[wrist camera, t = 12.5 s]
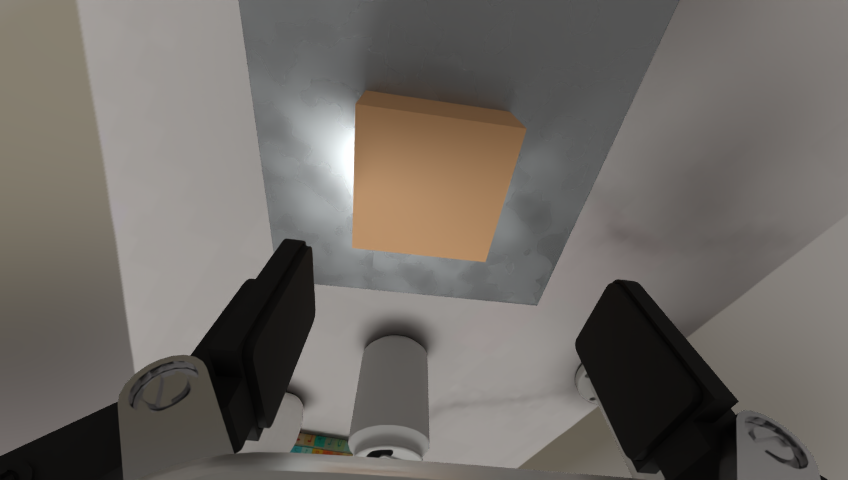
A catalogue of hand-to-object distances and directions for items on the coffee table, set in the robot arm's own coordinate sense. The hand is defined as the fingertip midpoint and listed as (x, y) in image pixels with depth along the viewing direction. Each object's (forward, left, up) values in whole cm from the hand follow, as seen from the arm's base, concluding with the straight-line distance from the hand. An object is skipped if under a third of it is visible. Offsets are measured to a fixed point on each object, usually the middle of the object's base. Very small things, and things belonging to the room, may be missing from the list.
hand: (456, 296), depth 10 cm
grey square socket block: (+1, -1, -17) cm, 17 cm away
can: (+1, +25, -17) cm, 31 cm away
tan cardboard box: (+1, -1, -15) cm, 15 cm away
